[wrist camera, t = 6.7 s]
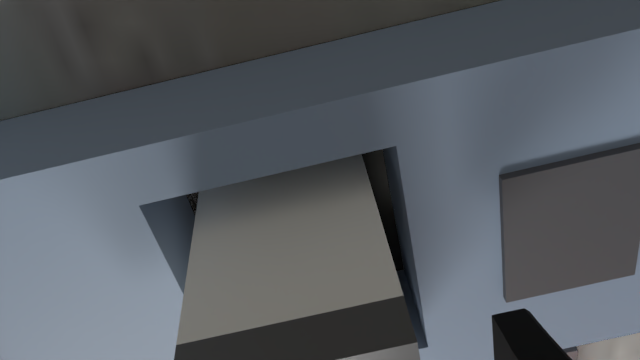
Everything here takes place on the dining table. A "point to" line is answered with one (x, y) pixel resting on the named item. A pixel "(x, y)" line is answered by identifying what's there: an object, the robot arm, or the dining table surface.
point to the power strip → (340, 142)
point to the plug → (293, 272)
